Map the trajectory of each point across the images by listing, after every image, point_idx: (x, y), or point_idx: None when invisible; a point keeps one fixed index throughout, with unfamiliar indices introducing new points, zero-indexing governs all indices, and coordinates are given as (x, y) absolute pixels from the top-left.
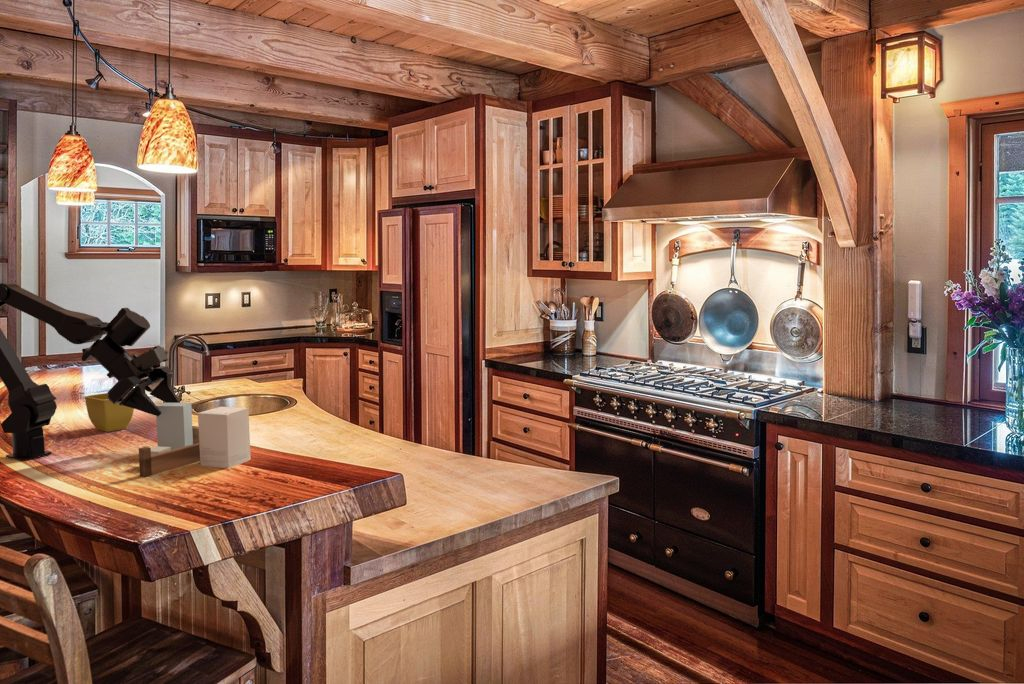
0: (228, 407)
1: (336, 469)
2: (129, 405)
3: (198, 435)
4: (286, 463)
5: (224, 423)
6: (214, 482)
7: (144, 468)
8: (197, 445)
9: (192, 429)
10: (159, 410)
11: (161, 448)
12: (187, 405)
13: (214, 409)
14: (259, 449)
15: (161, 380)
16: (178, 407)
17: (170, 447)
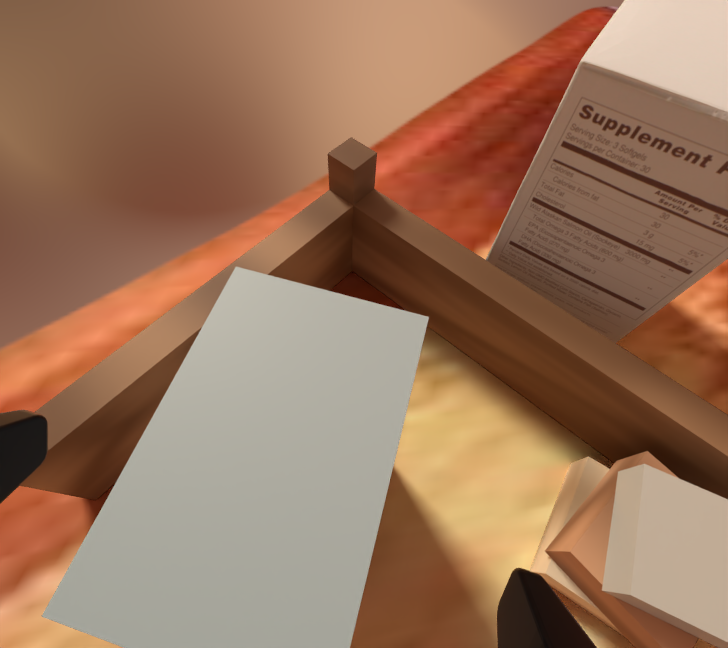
0: (629, 30)
1: (560, 67)
2: None
3: (165, 386)
4: (491, 144)
5: None
6: (720, 305)
7: None
8: (589, 329)
9: (104, 412)
10: (543, 596)
11: (689, 517)
12: (327, 296)
13: (716, 81)
14: (284, 203)
15: None
16: (412, 371)
17: (645, 465)
